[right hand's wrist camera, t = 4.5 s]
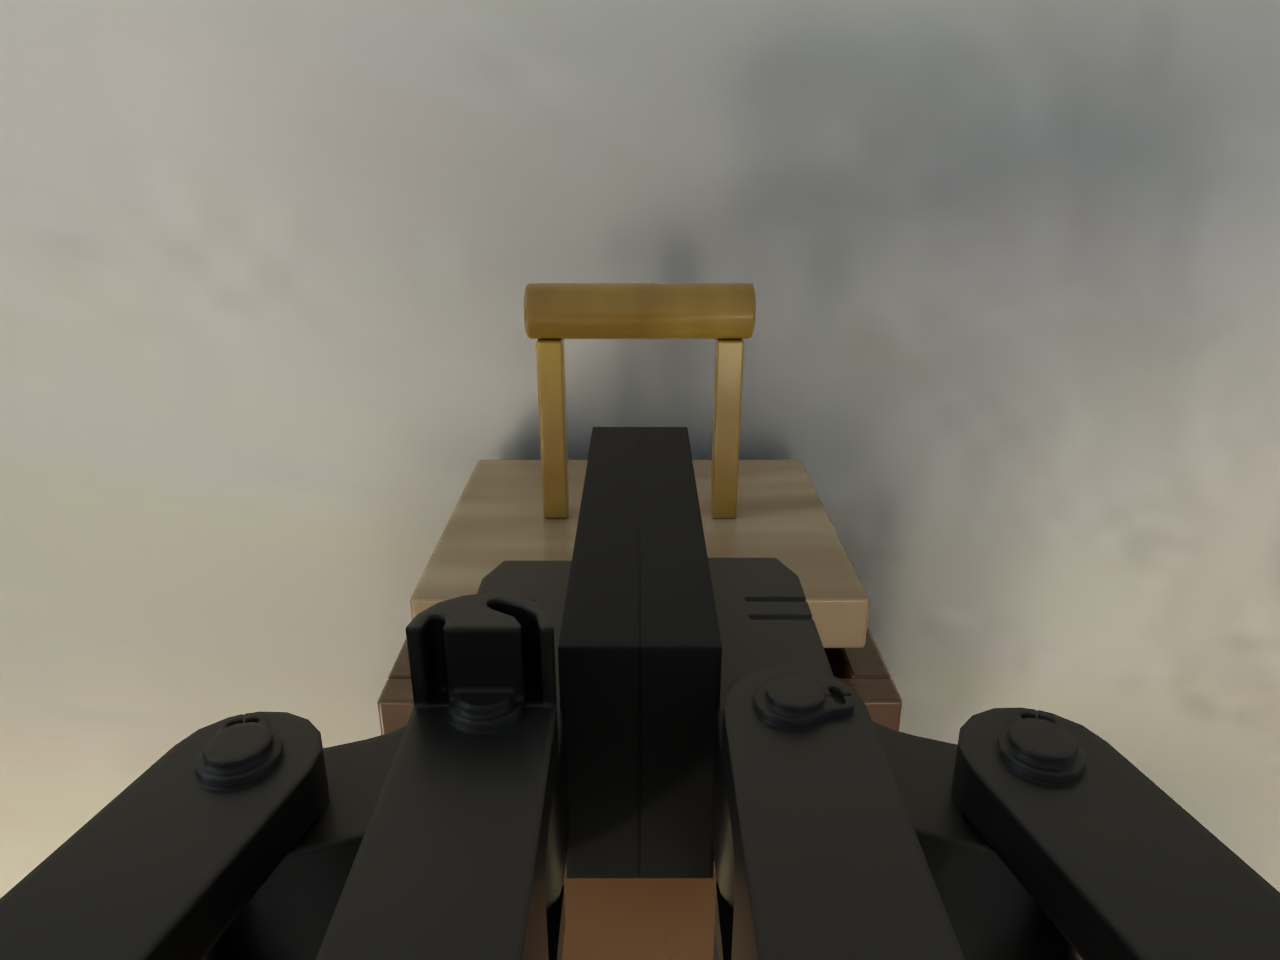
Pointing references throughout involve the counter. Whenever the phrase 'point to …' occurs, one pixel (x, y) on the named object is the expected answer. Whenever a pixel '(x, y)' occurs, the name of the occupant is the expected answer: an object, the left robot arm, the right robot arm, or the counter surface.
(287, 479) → the counter surface
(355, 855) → the right robot arm
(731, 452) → the drawer
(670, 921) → the cabinet
